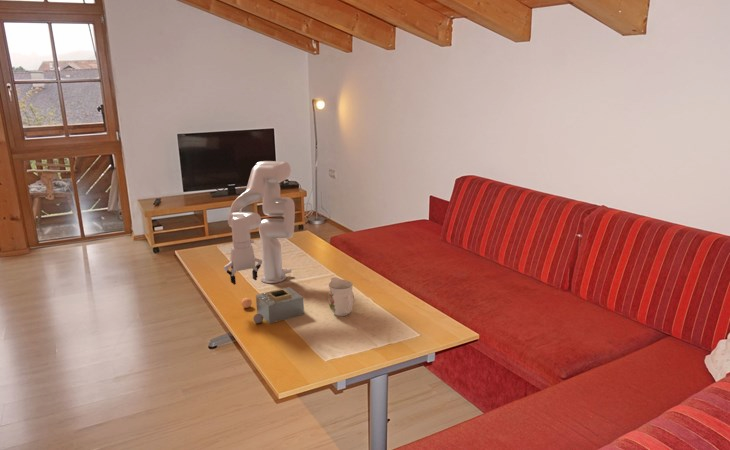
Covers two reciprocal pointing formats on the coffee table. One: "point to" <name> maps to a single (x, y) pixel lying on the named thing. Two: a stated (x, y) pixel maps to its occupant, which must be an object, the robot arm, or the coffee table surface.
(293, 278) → the coffee table surface
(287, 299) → the grey box with opening
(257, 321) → the bead
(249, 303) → the bead
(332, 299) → the pitcher
